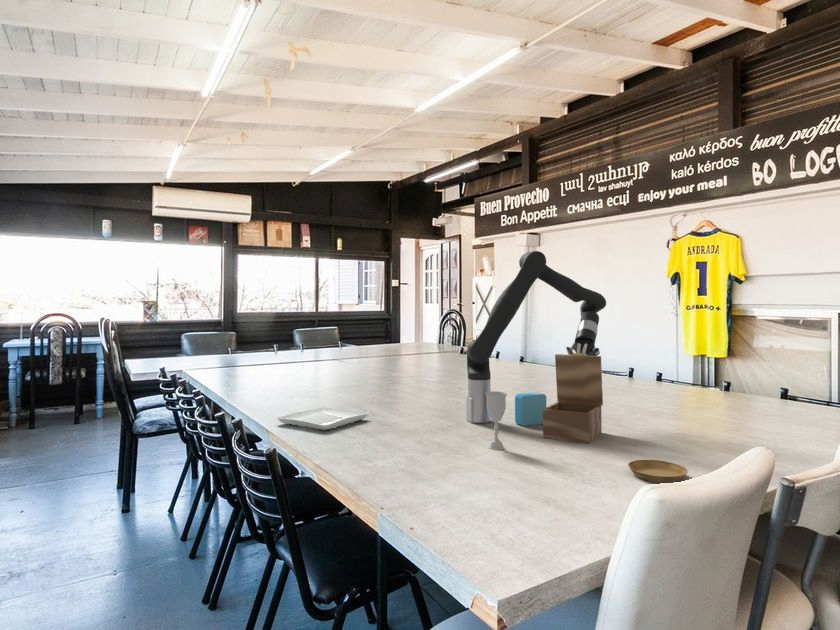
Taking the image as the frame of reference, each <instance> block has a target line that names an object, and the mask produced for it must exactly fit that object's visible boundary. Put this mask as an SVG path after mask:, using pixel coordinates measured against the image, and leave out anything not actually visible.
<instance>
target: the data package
mask: <svg viewBox="0 0 840 630" xmlns="http://www.w3.org/2000/svg"><path fill="white" fill-rule="evenodd" d="M545 408H547V395H546V394H545V393H542V392H537V391H536V392H528V393H527V392H526V393H525V392H524V393H517V394H516V395H515V396H514V422H515V423H516V424H517V425H520V426H522V427H529V426H528V425H530V426H536V425H537V424H539V425H543V409H545Z"/></svg>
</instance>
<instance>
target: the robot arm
mask: <svg viewBox="0 0 840 630" xmlns="http://www.w3.org/2000/svg"><path fill="white" fill-rule="evenodd" d="M518 265H519V268H520V269H519V271H518V273H517V274H516V276H515V278H514V279H513V280H512V281H511V282H510V283H509V285H507V286H506V287H505V289H504V290H503V291H502V292H501V293H500V295H499V296H498V298H497V300H496V301H495V303H494V305H493V306H492V308H491V310H490V313H489V316H488V318H487V321H486V322H485V323H486V324H485V326H484V327H483V329H482V331H480V333H479V335H478V337H477V338H476V339H473V340H471V341H470V342H469V343H468V345H467V349H466V371H467V396H466V399H465V401H466V403H465V404H466V410H465V411H466V413H465V414H466V421H468V422H469V423H471V424H473V423H475V424H484V423H485V424H486V423H489V422H491V421H492V419H491V417H490V415H489V413H488V410H487V396H486V394H485V392H492V389H491V388H492V387H491V385H492V384H491V382H492V381H491V380H492V379H491V377H492V376H491V370H490V358H491V356H492V354H493V352H494V349H495V347H496V346H497V344H498V341H499V340H500V338H501V336H502V334H503V333H504V332H505V330H506V329H507V327H508V326H509V324H510V323H511V322H512V320H513V319H514V317H515V316H516V314H517V312H518V311H519V309H520V307H521V305H522V303H523V302H524V300H525V298H526V297H527V295H528V293H529V290H530V289H531V287H532V286H533V284H534V283H535V282H536V281H537V280H540V281H542V282H544V283H545V284H547V285H548V286H550V287H552V288H553V289H555V290H556V291H558V293H560V294H561V295H563V296H564V297H566V298H567V299H569V300H570V301H572V302H574V303H579V302H582V303H581V304H580V307H579V310H580V321H579V325H578V327H577V330H576V334H575V338H574V342H573V343H572V345H571V346H566V348H565V349H566V352H567V355H572V354H573V353H582V355H588V356H600V348H599V347H596V339H597V335H598V328H599V327H598V326H599V321H600V316H599V314H598V312H600V311H602V310H603V309H605V308H606V306H607V300H606V298H605V297H604V295H602V294H601V293H600V292H597V291H595V290H592V289H589V288H586V287H583V286H582V285H581V284H579V283H578V282H576V280H575V281H574V280H573V279H571V278H570V277H568V276H566V275H564V274H562V273H560V272H558V271H556V270H554V269H553V268H551V267H549V266H548V265H547V258H546V256H545V254H544V253H543V252H542V251H539V250H532V251H528V252H525V253H523V254H522V255H521V256H520V258H519V259H518Z"/></svg>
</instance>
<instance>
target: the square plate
mask: <svg viewBox="0 0 840 630" xmlns="http://www.w3.org/2000/svg"><path fill="white" fill-rule="evenodd" d="M320 413H325V414H329V415H334V416H337V417H343V418H342V419H337V420H335V421H333V422H328V423H323V424H316V423H311V422H306V421H301V420H300V419H304V418H308V417H311V416H314V415H317V414H320ZM370 414H371V413H370V412H367V411H361V410H355V409H346V408H340V407H339V408H338V407H327V406H325V407H324V406H321V407H317V408H312V409H311V408H310V409H306V410H301V411H296V412H292V413H289V414H284V415H281V416H277V417H276V418H275V419H276V420H278V421H279V422H281V423H283V424H284V423H285V424H284V425H289V424H292V425H291V426H293V425H298V426H297V427H299V426H304V427H303V428H305V427H310V428H309V429H311V428H315V429H314V430H317V429H322V430H321V431H326V430H327V429H329V430H332V429H331V428H334V427H337V428H339V427H338V426H340V427H342V426H341V425H344V426H346V425H345V424H347V425H349V424H348V423H351V424H353V423H352V422H354V423H356V422H358V421H361V420H363V419H366V418H367V417H368V416H369V415H370ZM355 421H356V422H355ZM334 429H335V428H334ZM327 431H328V430H327Z"/></svg>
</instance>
